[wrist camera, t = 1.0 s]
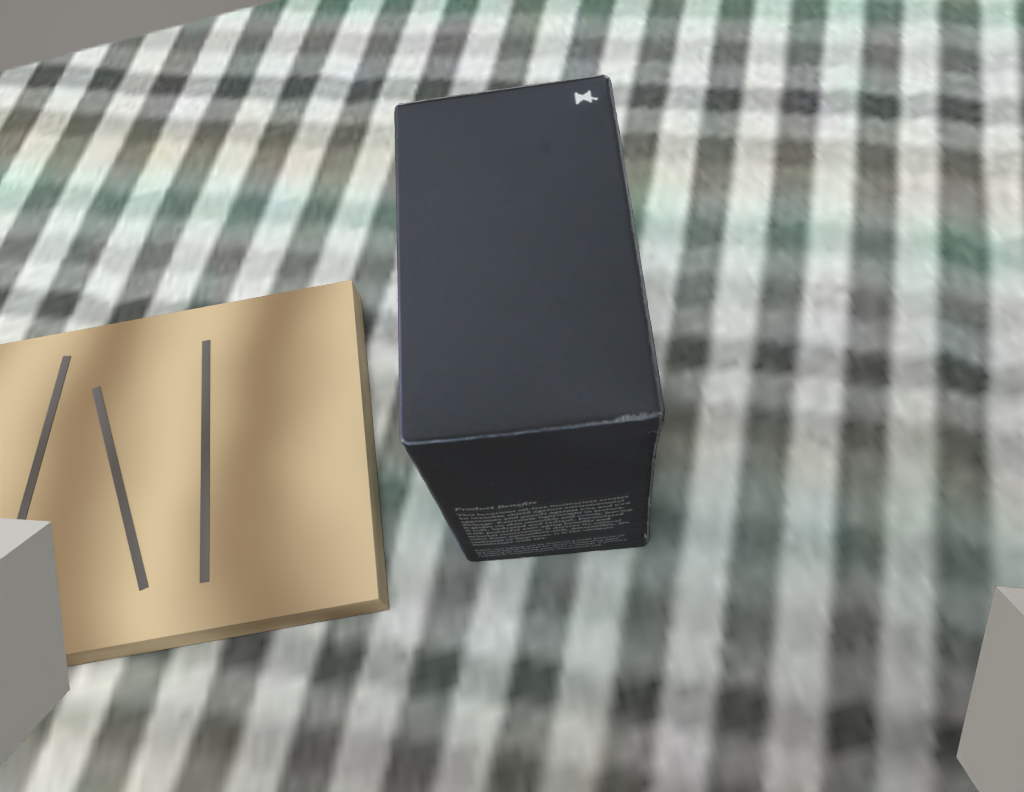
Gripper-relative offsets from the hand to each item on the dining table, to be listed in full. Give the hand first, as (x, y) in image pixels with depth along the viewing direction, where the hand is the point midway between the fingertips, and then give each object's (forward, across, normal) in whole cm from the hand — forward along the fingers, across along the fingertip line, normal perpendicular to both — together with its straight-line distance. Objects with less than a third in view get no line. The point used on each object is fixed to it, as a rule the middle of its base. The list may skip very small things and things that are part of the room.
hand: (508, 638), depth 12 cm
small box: (+19, 0, -3) cm, 19 cm away
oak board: (+17, -15, -6) cm, 24 cm away
